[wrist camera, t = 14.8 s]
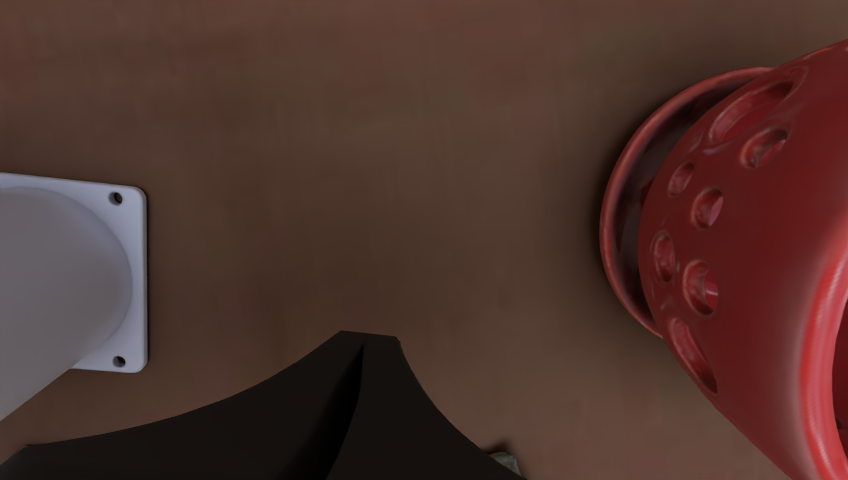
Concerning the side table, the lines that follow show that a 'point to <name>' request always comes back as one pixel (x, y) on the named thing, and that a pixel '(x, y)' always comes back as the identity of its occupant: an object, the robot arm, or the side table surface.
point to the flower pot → (746, 250)
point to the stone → (507, 461)
